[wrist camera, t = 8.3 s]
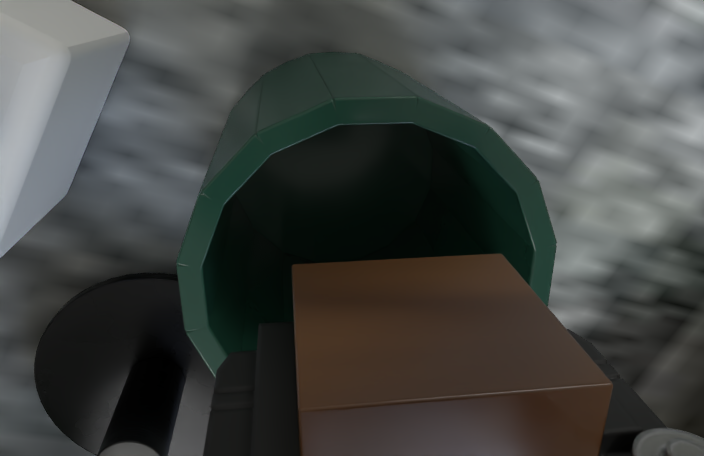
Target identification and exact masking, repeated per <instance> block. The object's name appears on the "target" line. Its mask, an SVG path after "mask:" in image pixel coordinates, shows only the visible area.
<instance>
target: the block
mask: <svg viewBox="0 0 704 456" xmlns="http://www.w3.org/2000/svg"><path fill="white" fill-rule="evenodd" d="M291 271H292V294H293V316H294V338H295V361H296V383H297V405H298V427H299V448H300V456H599V452H600V447H601V443H602V438H603V433H604V428H605V423H606V419H607V414H608V409H609V404H610V400H611V395H612V390H613V384H612V382H611V381H610V380H609V378H608V377H607V376H606V375H605V374H604V373H603V371H602V370H601V369H600V368H599V367H598V366H597V364H596V363H595V362H594V361H593V360H592V359H591V357H590V356H589V355H588V354H587V353H586V352H585V350H584V349H583V348H582V347H581V346H580V345H579V343H578V342H577V341H576V340H575V339H574V338H573V336H572V335H571V334H570V333H569V332H568V331H567V329H566V328H565V327H564V326H563V325H562V324H561V322H560V321H559V320H558V319H557V318H556V317H555V315H554V314H553V313H552V312H551V311H550V310H549V308H548V307H547V306H546V305H545V304H544V303H543V301H542V300H541V299H540V298H539V297H538V296H537V294H536V293H535V292H534V291H533V290H532V288H531V287H530V286H529V285H528V284H527V283H526V281H525V280H524V279H523V278H522V277H521V276H520V274H519V273H518V272H517V271H516V270H515V269H514V267H513V266H512V265H511V264H510V263H509V262H508V260H507V259H506V258H505V257H504V256H503V255H502V254H481V255H462V256H443V257H424V258H405V259H387V260H368V261H349V262H330V263H311V264H294V265H292V267H291Z"/></svg>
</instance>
